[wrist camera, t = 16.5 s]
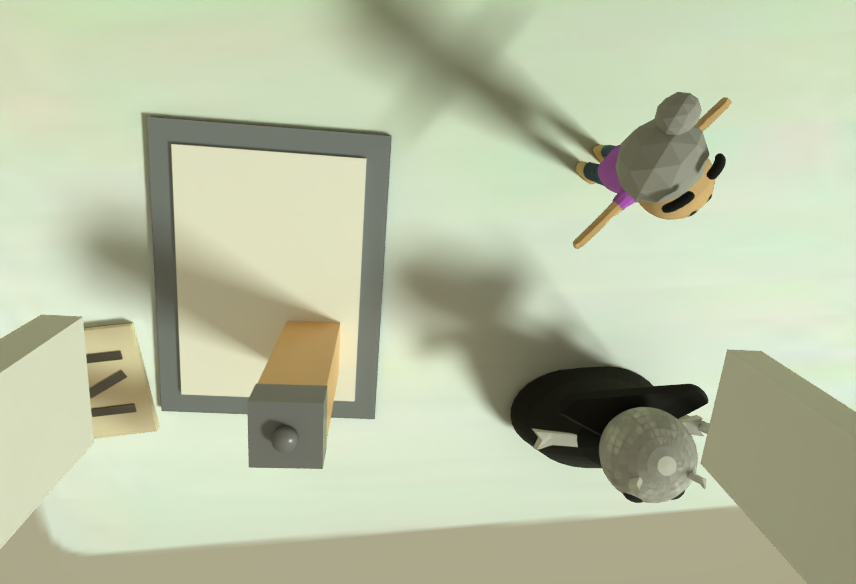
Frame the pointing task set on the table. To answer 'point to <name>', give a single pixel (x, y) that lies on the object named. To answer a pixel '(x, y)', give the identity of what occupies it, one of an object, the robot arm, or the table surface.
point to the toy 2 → (615, 428)
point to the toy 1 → (658, 164)
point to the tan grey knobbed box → (295, 398)
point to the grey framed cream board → (264, 254)
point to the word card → (118, 382)
